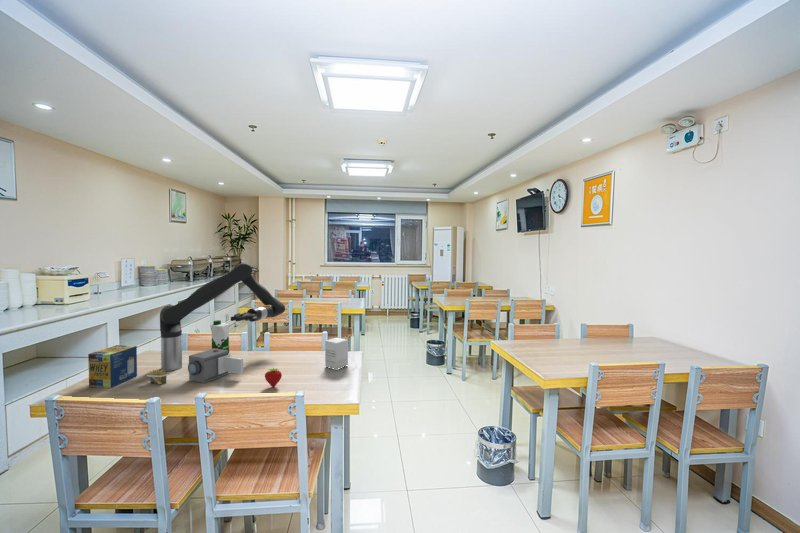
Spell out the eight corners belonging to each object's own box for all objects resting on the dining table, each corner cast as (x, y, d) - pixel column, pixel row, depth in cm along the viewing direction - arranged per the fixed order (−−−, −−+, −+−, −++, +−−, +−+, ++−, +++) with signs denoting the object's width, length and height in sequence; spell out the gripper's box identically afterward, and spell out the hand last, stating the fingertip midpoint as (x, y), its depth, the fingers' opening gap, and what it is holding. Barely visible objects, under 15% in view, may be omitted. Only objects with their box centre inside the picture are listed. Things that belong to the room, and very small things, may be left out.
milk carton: (219, 351, 215) (218, 319, 214) (232, 352, 213) (231, 320, 212) (208, 355, 207) (208, 322, 206) (222, 356, 205) (221, 322, 204)
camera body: (200, 385, 161) (200, 358, 160) (184, 382, 164) (184, 355, 164) (229, 373, 176) (228, 348, 176) (213, 371, 180) (213, 346, 179)
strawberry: (279, 389, 157) (279, 367, 157) (262, 389, 157) (262, 367, 156) (283, 384, 163) (283, 363, 162) (267, 384, 163) (267, 363, 162)
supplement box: (336, 363, 195) (336, 337, 194) (348, 366, 190) (348, 339, 189) (324, 367, 187) (324, 340, 187) (336, 371, 182) (336, 342, 182)
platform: (165, 390, 155) (165, 376, 155) (127, 388, 156) (127, 374, 156) (184, 380, 167) (183, 367, 167) (148, 379, 168) (148, 366, 168)
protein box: (88, 387, 156) (87, 353, 156) (117, 375, 172) (117, 344, 171) (110, 388, 156) (109, 354, 155) (138, 376, 171) (137, 345, 171)
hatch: (236, 377, 165) (236, 361, 165) (217, 374, 169) (217, 358, 169) (247, 373, 172) (247, 357, 172) (229, 370, 176) (229, 354, 176)
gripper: (247, 306, 204) (223, 311, 187) (266, 308, 199) (243, 313, 182) (247, 319, 204) (223, 325, 188) (266, 321, 199) (243, 327, 183)
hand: (233, 319), depth 185 cm, fingers open, 3 cm apart
